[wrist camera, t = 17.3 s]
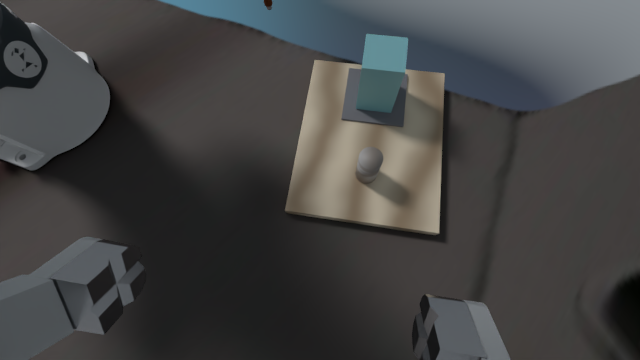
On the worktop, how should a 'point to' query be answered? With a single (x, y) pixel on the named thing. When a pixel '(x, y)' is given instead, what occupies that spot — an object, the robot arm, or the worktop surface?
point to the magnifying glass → (268, 4)
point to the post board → (347, 141)
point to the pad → (366, 115)
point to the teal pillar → (381, 72)
